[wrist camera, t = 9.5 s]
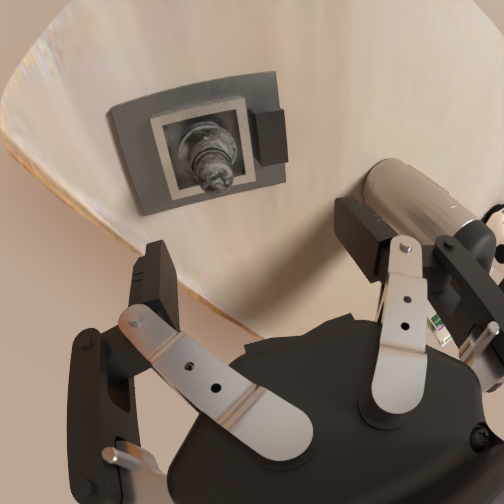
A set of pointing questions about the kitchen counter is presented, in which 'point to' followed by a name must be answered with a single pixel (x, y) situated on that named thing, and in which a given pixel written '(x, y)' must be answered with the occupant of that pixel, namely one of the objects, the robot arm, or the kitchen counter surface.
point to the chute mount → (193, 111)
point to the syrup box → (437, 326)
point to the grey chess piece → (208, 156)
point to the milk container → (498, 236)
